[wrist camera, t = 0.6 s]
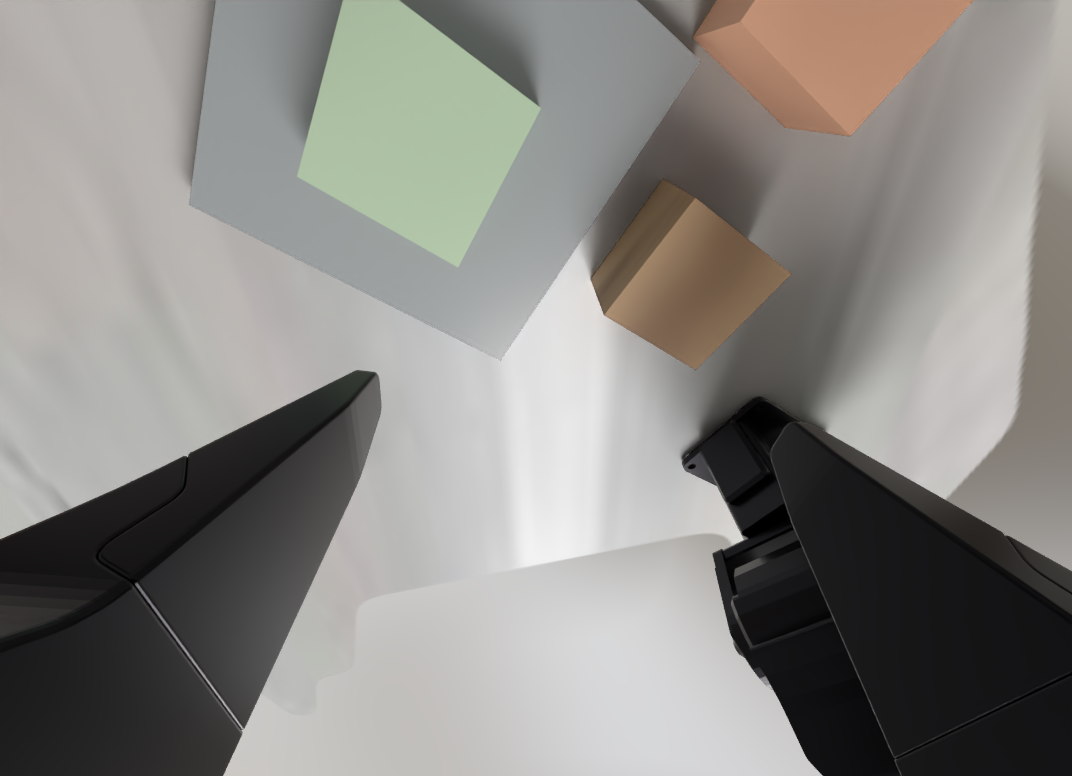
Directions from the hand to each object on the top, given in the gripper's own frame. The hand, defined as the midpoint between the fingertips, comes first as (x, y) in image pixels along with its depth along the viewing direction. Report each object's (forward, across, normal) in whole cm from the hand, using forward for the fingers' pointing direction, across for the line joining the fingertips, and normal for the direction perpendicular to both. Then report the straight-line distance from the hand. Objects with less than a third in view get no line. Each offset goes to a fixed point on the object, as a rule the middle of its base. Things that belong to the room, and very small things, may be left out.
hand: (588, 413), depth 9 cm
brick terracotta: (+12, -6, -9) cm, 16 cm away
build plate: (+11, +6, -4) cm, 13 cm away
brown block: (+12, -5, 0) cm, 13 cm away
